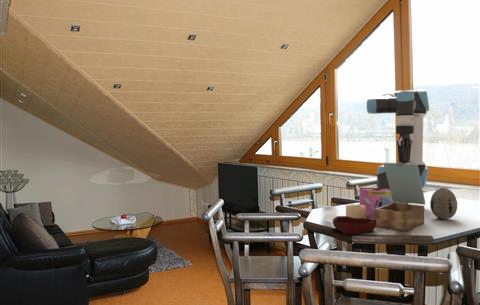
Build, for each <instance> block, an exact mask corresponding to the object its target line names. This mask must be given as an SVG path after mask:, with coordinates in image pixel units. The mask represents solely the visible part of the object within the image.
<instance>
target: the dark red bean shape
mask: <svg viewBox="0 0 480 305" xmlns="http://www.w3.org/2000/svg"><path fill="white" fill-rule="evenodd" d="M332 224H333V226H334V228H335V229H338V231H340V232H342V233H343V234H345V235H347V236H352V235H353V236H354V235H359V233H360V234H363V233H369V232H373V231H374V230H375V229H376V228H377V227H376V220H375V218H371V217H365V218H351V217H348V216H346V215H343V216H342V215H337V216H335V217H334V218H333V219H332Z"/></svg>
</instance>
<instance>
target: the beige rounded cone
mask: <svg viewBox="0 0 480 305" xmlns="http://www.w3.org/2000/svg"><path fill="white" fill-rule="evenodd" d="M345 216H348V217H351V218H366V217H365V206H364V205H359V204H358V203H357V204H356V203H353V204H352V203H350V204H349V203H348V204H346V205H345Z"/></svg>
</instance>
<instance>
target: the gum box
mask: <svg viewBox="0 0 480 305" xmlns="http://www.w3.org/2000/svg"><path fill="white" fill-rule="evenodd" d="M358 192H359V198H358V199H359V205H364V206H365V218H375V209H376V208H379V207H382V206H385V205H388V204H391V203H403V204H409V203H404V202H395V201H393V200H392V196H391V191H390V188H377V187H359V191H358Z"/></svg>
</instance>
